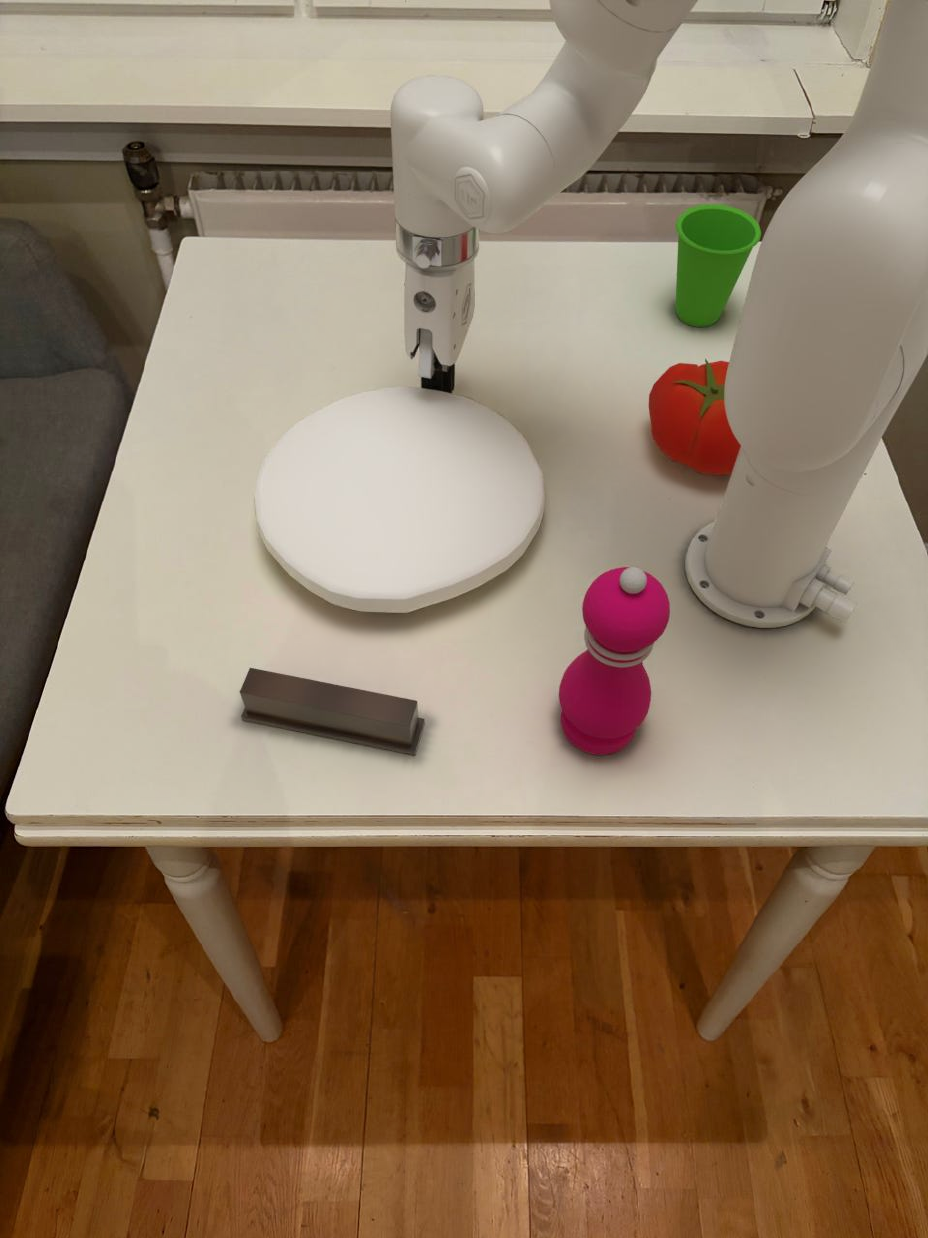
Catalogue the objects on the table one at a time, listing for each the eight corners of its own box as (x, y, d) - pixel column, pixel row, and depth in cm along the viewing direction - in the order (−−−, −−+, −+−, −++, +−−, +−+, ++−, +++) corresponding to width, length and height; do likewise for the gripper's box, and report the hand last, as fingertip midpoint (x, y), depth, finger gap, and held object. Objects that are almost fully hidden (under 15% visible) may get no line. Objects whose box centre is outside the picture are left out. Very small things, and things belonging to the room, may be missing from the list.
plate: (384, 343, 99) (602, 452, 90) (383, 394, 104) (590, 502, 95) (184, 478, 83) (424, 626, 75) (195, 531, 88) (421, 676, 80)
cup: (645, 297, 112) (662, 211, 103) (715, 284, 113) (737, 197, 105) (678, 344, 107) (698, 257, 98) (750, 330, 108) (777, 243, 100)
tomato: (788, 450, 97) (814, 385, 90) (710, 510, 92) (731, 446, 85) (693, 388, 103) (710, 322, 96) (614, 441, 98) (627, 376, 91)
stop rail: (424, 722, 78) (423, 697, 75) (415, 756, 76) (413, 732, 73) (255, 688, 80) (246, 662, 77) (241, 720, 78) (232, 695, 75)
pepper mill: (536, 721, 78) (557, 571, 62) (593, 669, 81) (628, 513, 65) (602, 778, 75) (643, 636, 59) (659, 722, 78) (712, 573, 62)
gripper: (459, 289, 80) (456, 447, 95) (496, 193, 88) (488, 352, 103) (373, 275, 80) (383, 433, 95) (418, 181, 89) (421, 340, 104)
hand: (438, 391), depth 99 cm, fingers closed
